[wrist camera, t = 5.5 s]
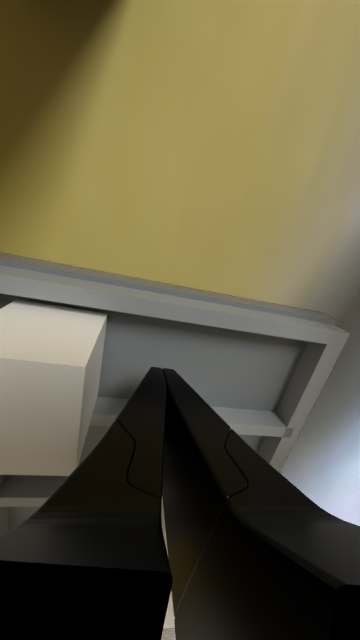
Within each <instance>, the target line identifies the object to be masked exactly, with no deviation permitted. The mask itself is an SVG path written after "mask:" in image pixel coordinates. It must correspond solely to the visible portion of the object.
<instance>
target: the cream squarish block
mask: <svg viewBox="0 0 360 640" xmlns="http://www.w3.org/2000/svg"><path fill="white" fill-rule="evenodd" d="M107 315H108V314H107V313H101V312H94V311H88V310H81V309H75V308H68V307H62V306H55V305H49V304H42V303H35V302H29V301H22V300H15V301H13V302H11V303H10V304H8V305H6V306H5V307H3V308H1V309H0V475H45V476H69V475H70V474H71V473H72V472H73V471H74V470H75V469H76V468H77V467H78V464H79V460H80V457H81V453H82V449H83V446H84V442H85V439H86V435H87V432H88V428H89V424H90V421H91V417H92V414H93V410H94V406H95V403H96V399H97V396H98V390H99V381H100V373H101V365H102V357H103V348H104V340H105V332H106V323H107Z"/></svg>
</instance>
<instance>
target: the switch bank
mask: <svg viewBox="0 0 360 640" xmlns="http://www.w3.org/2000/svg"><path fill="white" fill-rule="evenodd" d="M15 300H22V301H29V302H35V303H42V304H49V305H55V306H62V307H68V308H75V309H81V310H88V311H94V312H101V313H107V314H108V315H107V323H106V332H105V340H104V348H103V357H102V365H101V373H100V381H99V390H98V396H97V399H96V403H95V406H94V410H93V414H92V417H91V421H90V424H89V428H88V432H87V435H86V439H85V442H84V446H83V449H82V453H81V457H80V460H79V464H80V463H81V462H82V461H83V460H84V459H85V458H86V457H87V455H88V454H89V453H90V452H91V451H92V450H93V448H94V447H95V446H96V445H97V444H98V443H99V441H100V440H101V439H102V437H103V436H104V435H105V433H106V432H107V430H108V429H109V428H110V426H111V425H112V423H113V422H114V421H115V419H116V418H117V416H118V415H119V413H120V412H121V410H122V409H123V407H124V406H125V404H126V403H127V401H128V400H129V398H130V397H131V395H132V394H133V392H134V391H135V389H136V388H137V387H138V385H139V384H140V382H141V381H142V379H143V378H144V376H145V375H146V373H147V372H148V370H149V369H150V367H161V368H162V369H163V368H169V369H174V370H175V371H176V372H177V373H178V374H179V375H180V376H181V377H182V378H183V379H184V380H185V381H186V382H187V383H188V384H189V385H190V386H191V387H192V388H193V389H194V390H195V391H196V392H197V393H198V394H199V395H200V396H201V397H202V398H203V399H204V400H205V402H206V403H207V404H208V405H209V406H210V407H211V408H212V409H213V410H214V411H215V412H216V413H217V414H218V415H219V416H220V417H221V418H222V419H223V420H224V421H225V422H226V423H227V424H228V425H229V426H230V427H231V429H233V430H234V431H235V432H236V433H237V434H238V435H239V436H240V437H241V438H242V439H243V440H244V441H245V442H246V443H247V444H248V445H249V446H250V447H251V448H252V449H253V450H254V451H255V452H257V453H258V454H259V455H260V456H261V457H262V458H263V459H264V460H265V461H267V462H268V463H269V464H270V465H271V466H272V467H273V468H274V469H276V470H277V471H278V472H280V470H281V468H282V466H283V464H284V463H285V461H286V459H287V457H288V455H289V453H290V451H291V449H292V447H293V445H294V443H295V441H296V439H297V437H298V435H299V433H300V431H301V429H302V427H303V425H304V423H305V421H306V419H307V418H308V416H309V414H310V412H311V410H312V408H313V406H314V404H315V402H316V400H317V398H318V396H319V394H320V392H321V390H322V388H323V386H324V384H325V382H326V380H327V378H328V376H329V374H330V373H331V371H332V369H333V367H334V365H335V363H336V361H337V359H338V357H339V355H340V353H341V351H342V349H343V347H344V345H345V343H346V341H347V339H348V337H349V335H350V333H348V332H346V331H344V330H342V329H341V328H339V327H337V326H335V325H334V324H335V322H336V320H335V319H333V318H331V317H329V316H327V315H325V314H323V313H321V312H316V311H311V310H305V309H300V308H295V307H289V306H284V305H278V304H273V303H268V302H262V301H257V300H252V299H246V298H241V297H236V296H230V295H225V294H220V293H214V292H209V291H204V290H198V289H193V288H187V287H182V286H177V285H171V284H166V283H161V282H155V281H150V280H145V279H139V278H134V277H129V276H123V275H118V274H113V273H107V272H102V271H97V270H91V269H86V268H80V267H75V266H70V265H64V264H59V263H54V262H48V261H43V260H38V259H32V258H27V257H22V256H16V255H11V254H6V253H0V309H1V308H3V307H5V306H6V305H8V304H10V303H11V302H13V301H15ZM79 464H78V465H79ZM67 478H68V476H45V475H0V535H2V534H4V533H6V532H8V531H9V530H11V529H13V528H15V527H16V526H18V525H19V524H21V523H22V522H23V521H25V520H26V519H27V518H29V517H30V516H31V515H32V514H33V513H34V512H35V511H37V510H38V509H39V508H40V507H41V506H42V505H43V504H44V503H45V501H46V500H47V499H48V498H49V497H50V496H51V495H52V494H53V493H54V492H55V491H56V490H57V488H58V487H59V486H60V485H61V484H62V483H63V482H64V481H65V480H66V479H67Z"/></svg>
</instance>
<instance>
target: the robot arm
mask: <svg viewBox="0 0 360 640" xmlns="http://www.w3.org/2000/svg"><path fill="white" fill-rule="evenodd" d="M162 498H163V508H164V519H165V529H166V539H167V549H166V545H165V540H164V535H163V530H162V517H161V513H162V501H161V500H162ZM167 550H168V554H167ZM171 591H172V601H173V612H174V617H175V619H174V623H175V634H176V640H360V526H358V525H355V524H352V523H349V522H346V521H343V520H341V519H339V518H337V517H335V516H333V515H331V514H330V513H328V512H326V511H325V510H323V509H322V508H320V507H319V506H318V505H316V504H315V503H314V502H313V501H311V500H310V499H309V498H308V497H307V496H306V495H304V494H303V493H302V492H301V491H300V490H299V489H297V488H296V487H295V486H294V485H293V484H292V483H291V482H289V481H288V480H287V479H286V478H285V477H284V476H283V475H281V474H280V473H279V472H278V471H277V470H276V469H274V468H273V467H272V466H271V465H270V464H269V463H268V462H267V461H265V460H264V459H263V458H262V457H261V456H260V455H259V454H258V453H257V452H255V451H254V450H253V449H252V448H251V447H250V446H249V445H248V444H247V443H246V442H245V441H244V440H243V439H242V438H241V437H240V436H239V435H238V434H237V433H236V432H235V431H234V430H233V429H231V427H230V426H229V425H228V424H227V423H226V422H225V421H224V420H223V419H222V418H221V417H220V416H219V415H218V414H217V413H216V412H215V411H214V410H213V409H212V408H211V407H210V406H209V405H208V404H207V403H206V402H205V400H204V399H203V398H202V397H201V396H200V395H199V394H198V393H197V392H196V391H195V390H194V389H193V388H192V387H191V386H190V385H189V384H188V383H187V382H186V381H185V380H184V379H183V378H182V377H181V376H180V375H179V374H178V373H177V372H176V371H175V370H174V369H169V368H163V369H162V368H161V367H150V369H149V370H148V372H147V373H146V375H145V376H144V378H143V379H142V381H141V382H140V384H139V385H138V387H137V388H136V389H135V391H134V392H133V394H132V395H131V397H130V398H129V400H128V401H127V403H126V404H125V406H124V407H123V409H122V410H121V412H120V413H119V415H118V416H117V418H116V419H115V421H114V422H113V423H112V425H111V426H110V428H109V429H108V430H107V432H106V433H105V435H104V436H103V437H102V439H101V440H100V441H99V443H98V444H97V445H96V446H95V447H94V448H93V450H92V451H91V452H90V453H89V454H88V455H87V457H86V458H85V459H84V460H83V461H82V462H81V463H80V464H79V465H78V467H77V468H76V469H75V470H74V471H73V472H72V473H71V474H70V475H69V476H68V478H67V479H66V480H65V481H64V482H63V483H62V484H61V485H60V486H59V487H58V488H57V490H56V491H55V492H54V493H53V494H52V495H51V496H50V497H49V498H48V499H47V500H46V501H45V503H44V504H43V505H42V506H41V507H40V508H39V509H38V510H37V511H35V512H34V513H33V514H32V515H31V516H30V517H29V518H27V519H26V520H25V521H23V522H22V523H21V524H19V525H18V526H16V527H15V528H13V529H11V530H9V531H8V532H6V533H4V534H2V535H0V640H161V636H162V631H163V626H164V622H165V617H166V612H167V607H168V603H169V598H170V593H171Z"/></svg>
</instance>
